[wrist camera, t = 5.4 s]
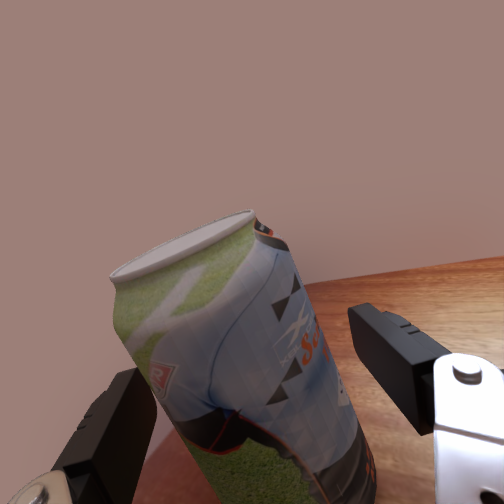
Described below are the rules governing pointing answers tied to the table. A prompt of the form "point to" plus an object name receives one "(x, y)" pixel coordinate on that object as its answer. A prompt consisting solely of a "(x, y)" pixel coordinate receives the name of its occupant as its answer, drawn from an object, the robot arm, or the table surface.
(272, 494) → the beverage can
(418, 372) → the robot arm
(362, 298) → the table surface
